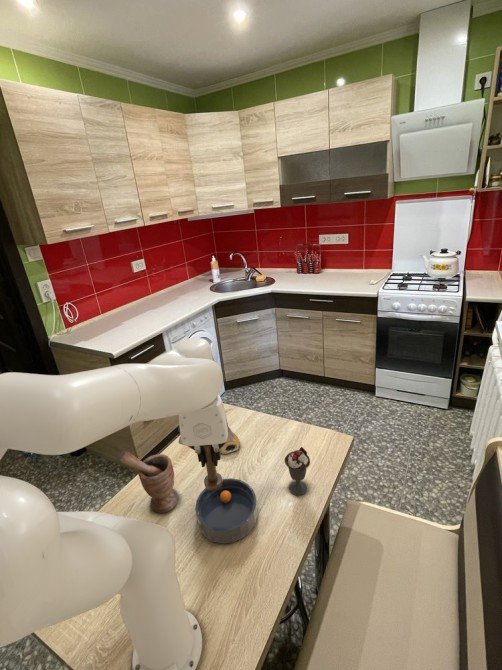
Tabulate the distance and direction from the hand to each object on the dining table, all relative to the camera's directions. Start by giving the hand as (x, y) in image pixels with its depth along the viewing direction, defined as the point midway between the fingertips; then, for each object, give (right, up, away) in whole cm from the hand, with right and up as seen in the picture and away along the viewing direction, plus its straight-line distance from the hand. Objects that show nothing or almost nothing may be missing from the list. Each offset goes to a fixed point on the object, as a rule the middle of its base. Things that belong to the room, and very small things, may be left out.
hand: (210, 461), depth 80 cm
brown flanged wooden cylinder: (0, -6, +3) cm, 7 cm away
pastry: (+2, -7, +32) cm, 33 cm away
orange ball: (+3, -13, +11) cm, 18 cm away
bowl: (+4, -17, +8) cm, 19 cm away
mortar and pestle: (-15, -17, +13) cm, 26 cm away
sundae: (+22, -13, +14) cm, 30 cm away
